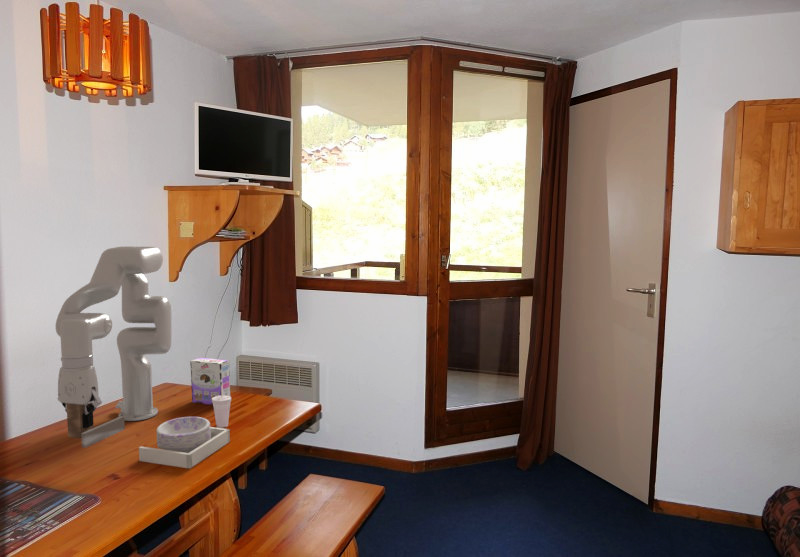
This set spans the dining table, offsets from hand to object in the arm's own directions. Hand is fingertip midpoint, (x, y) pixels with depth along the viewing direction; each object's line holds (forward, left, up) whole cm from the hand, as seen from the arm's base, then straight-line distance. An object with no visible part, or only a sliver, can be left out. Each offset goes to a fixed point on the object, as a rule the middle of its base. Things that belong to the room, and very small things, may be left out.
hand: (80, 425), depth 159 cm
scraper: (+3, 0, -3) cm, 4 cm away
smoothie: (+20, +38, -12) cm, 45 cm away
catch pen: (+21, +17, -12) cm, 30 cm away
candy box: (+2, +58, -12) cm, 59 cm away
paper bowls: (+20, +18, -12) cm, 30 cm away
